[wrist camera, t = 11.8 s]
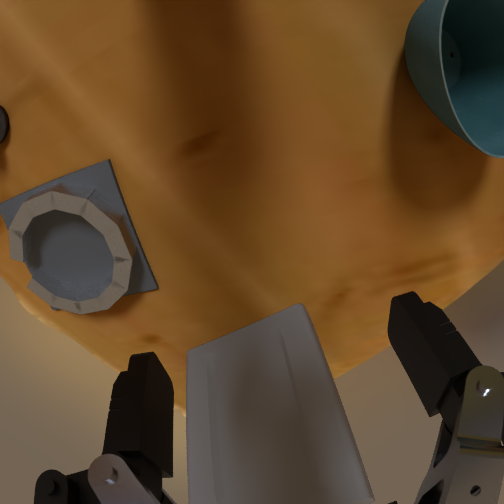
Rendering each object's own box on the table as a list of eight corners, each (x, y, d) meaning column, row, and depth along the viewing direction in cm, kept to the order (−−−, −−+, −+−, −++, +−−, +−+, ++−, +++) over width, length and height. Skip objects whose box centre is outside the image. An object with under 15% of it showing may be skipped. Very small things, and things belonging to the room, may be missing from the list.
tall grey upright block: (231, 396, 54) (250, 542, 31) (184, 351, 47) (187, 534, 23) (330, 356, 52) (384, 507, 28) (301, 301, 44) (370, 496, 20)
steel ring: (2, 206, 30) (-10, 217, 28) (106, 164, 31) (98, 173, 28) (54, 306, 39) (48, 320, 36) (153, 285, 39) (150, 300, 37)
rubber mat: (-1, 203, 31) (-3, 205, 30) (109, 159, 31) (108, 160, 30) (54, 307, 40) (53, 310, 39) (158, 285, 40) (157, 288, 39)
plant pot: (490, 30, 26) (557, 38, 15) (466, 145, 34) (530, 178, 24) (382, -35, 22) (448, -60, 12) (354, 103, 31) (419, 123, 21)
